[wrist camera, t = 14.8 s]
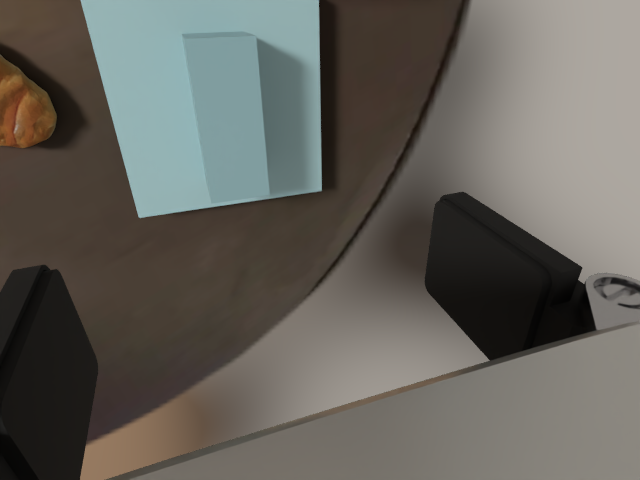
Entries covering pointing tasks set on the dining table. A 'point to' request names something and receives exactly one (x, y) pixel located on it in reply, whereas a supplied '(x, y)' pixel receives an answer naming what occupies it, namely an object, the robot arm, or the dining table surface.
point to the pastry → (23, 109)
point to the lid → (211, 98)
